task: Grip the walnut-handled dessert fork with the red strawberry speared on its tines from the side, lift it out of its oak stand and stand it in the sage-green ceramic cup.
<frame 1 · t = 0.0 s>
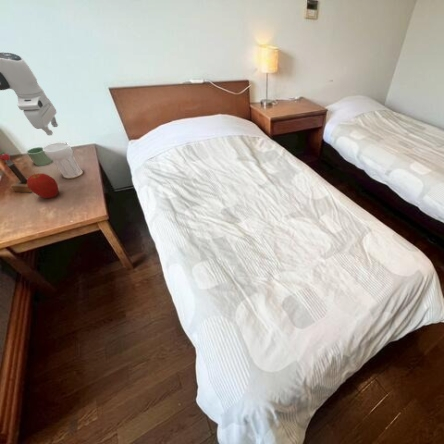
hand: (53, 130, 115), 32 cm above the table, tool pointing down, fingers open, 8 cm apart
red ovoid fruit: (51, 196, 128), on the table
dessert cup: (44, 162, 149), on the table
strawberry fork: (16, 171, 124), in the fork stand
cup: (73, 174, 143), on the table
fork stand: (30, 188, 131), on the table
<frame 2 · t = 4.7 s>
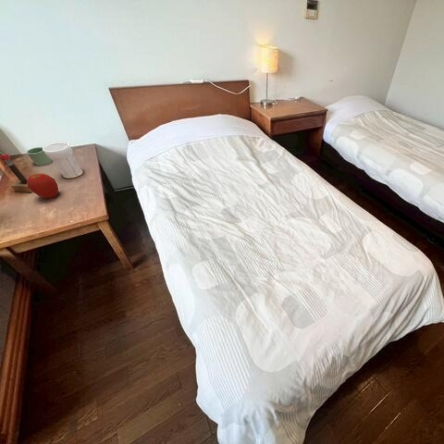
nothing on the table moved.
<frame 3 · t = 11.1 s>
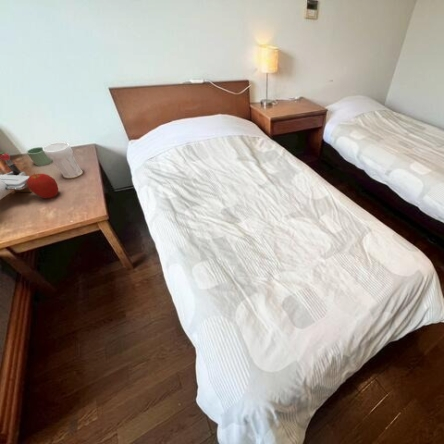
hand: (19, 172, 126), 9 cm above the table, tool horizontal, fingers closed on strawberry fork, 2 cm apart
strawberry fork: (16, 171, 124), in the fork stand, touching gripper
everything else where it was.
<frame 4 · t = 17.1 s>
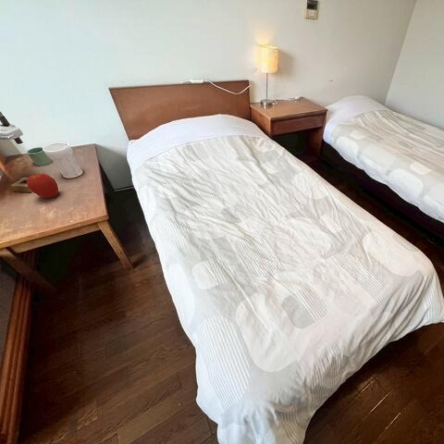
hand: (9, 125, 127), 26 cm above the table, tool horizontal, fingers closed on strawberry fork, 2 cm apart
strawberry fork: (6, 124, 125), point 27 cm above the table, touching gripper
everything else where it was.
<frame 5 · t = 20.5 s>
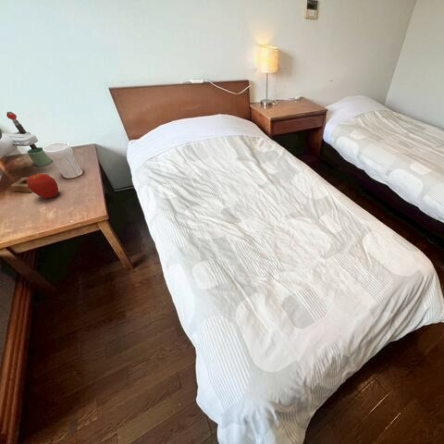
hand: (25, 132, 138), 18 cm above the table, tool horizontal, fingers closed on strawberry fork, 2 cm apart
strawberry fork: (22, 131, 136), point 20 cm above the table, touching gripper
everything else where it was.
when the fingers open (10 cm above the table, at t = 23.1 s): strawberry fork stays where it is, resting on dessert cup.
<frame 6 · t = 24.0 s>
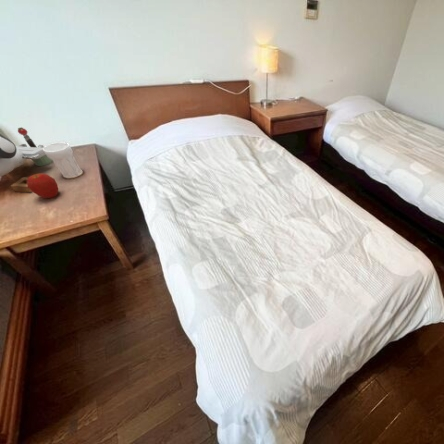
hand: (33, 145, 143), 11 cm above the table, tool horizontal, fingers open, 8 cm apart
strawberry fork: (32, 145, 142), in the dessert cup, point 11 cm above the table
everything else where it was.
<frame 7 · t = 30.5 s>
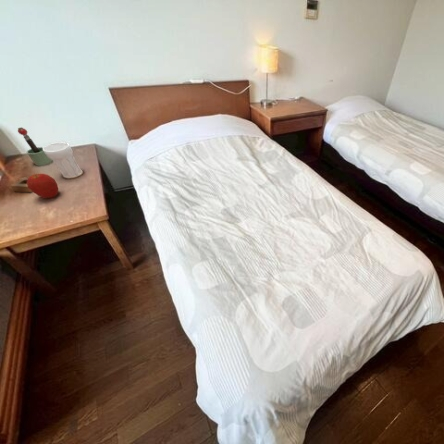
nothing on the table moved.
at the end: strawberry fork 0.1 cm off-centre in the dessert cup, point 11.0 cm above the dessert cup's base; the gripper is holding nothing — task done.
